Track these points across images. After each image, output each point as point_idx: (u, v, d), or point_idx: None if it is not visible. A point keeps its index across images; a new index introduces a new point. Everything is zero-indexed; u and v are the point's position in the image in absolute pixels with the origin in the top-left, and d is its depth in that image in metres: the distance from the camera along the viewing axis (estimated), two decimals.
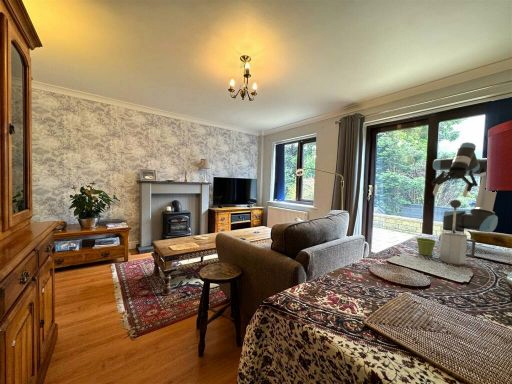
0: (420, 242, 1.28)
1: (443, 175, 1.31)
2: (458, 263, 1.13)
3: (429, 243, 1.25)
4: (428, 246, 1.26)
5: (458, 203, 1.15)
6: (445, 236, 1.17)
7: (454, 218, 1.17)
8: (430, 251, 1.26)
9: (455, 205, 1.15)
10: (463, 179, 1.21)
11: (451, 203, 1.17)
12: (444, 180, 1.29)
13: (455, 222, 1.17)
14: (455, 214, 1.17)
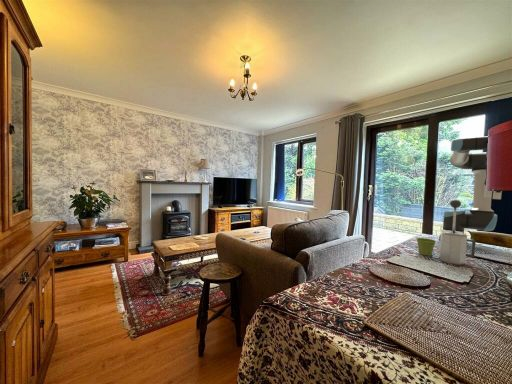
0: (420, 242, 1.28)
1: None
2: (458, 263, 1.13)
3: (429, 243, 1.25)
4: (428, 246, 1.26)
5: (458, 203, 1.15)
6: (445, 236, 1.17)
7: (454, 218, 1.17)
8: (430, 251, 1.26)
9: (455, 205, 1.15)
10: None
11: (451, 203, 1.17)
12: None
13: (455, 222, 1.17)
14: (455, 214, 1.17)
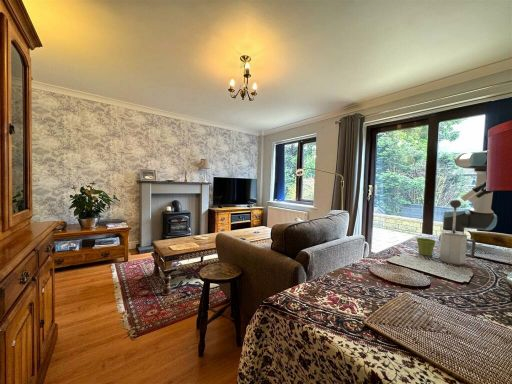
0: (420, 242, 1.28)
1: None
2: (458, 263, 1.13)
3: (429, 243, 1.25)
4: (428, 246, 1.26)
5: (458, 203, 1.15)
6: (445, 236, 1.17)
7: (454, 218, 1.17)
8: (430, 251, 1.26)
9: (455, 205, 1.15)
10: None
11: (451, 203, 1.17)
12: (482, 187, 1.14)
13: (455, 222, 1.17)
14: (455, 214, 1.17)
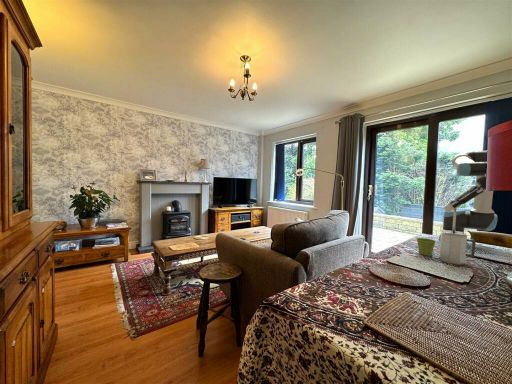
0: (420, 242, 1.28)
1: None
2: (458, 263, 1.13)
3: (429, 243, 1.25)
4: (428, 246, 1.26)
5: None
6: (445, 236, 1.17)
7: (454, 218, 1.17)
8: (430, 251, 1.26)
9: None
10: (467, 195, 1.13)
11: (451, 203, 1.17)
12: None
13: (455, 222, 1.17)
14: (455, 214, 1.17)
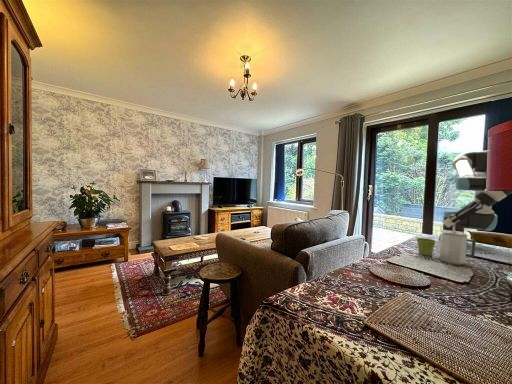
0: (420, 242, 1.28)
1: None
2: (458, 263, 1.13)
3: (429, 243, 1.25)
4: (428, 246, 1.26)
5: None
6: (445, 236, 1.17)
7: None
8: (430, 251, 1.26)
9: None
10: None
11: (450, 218, 1.17)
12: None
13: None
14: (454, 229, 1.17)
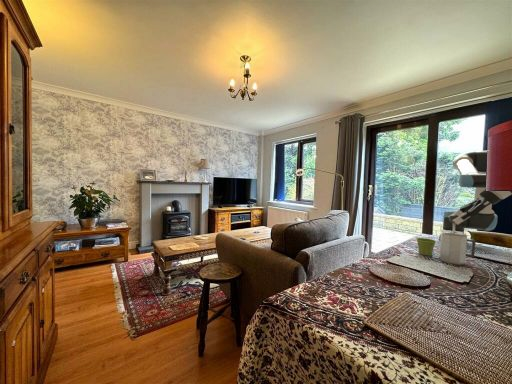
0: (420, 242, 1.28)
1: None
2: (458, 263, 1.13)
3: (429, 243, 1.25)
4: (428, 246, 1.26)
5: None
6: (445, 236, 1.17)
7: None
8: (430, 251, 1.26)
9: None
10: None
11: (450, 218, 1.17)
12: (469, 207, 1.17)
13: None
14: (454, 229, 1.17)
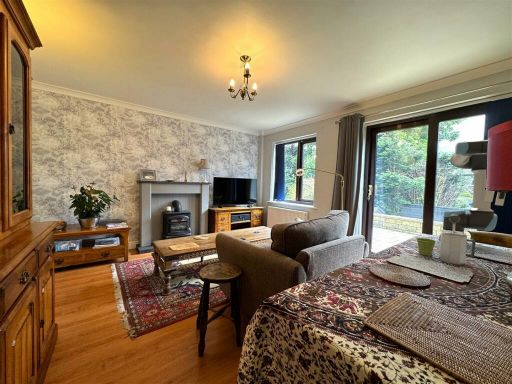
0: (420, 242, 1.28)
1: None
2: (458, 263, 1.13)
3: (429, 243, 1.25)
4: (428, 246, 1.26)
5: (457, 218, 1.15)
6: (445, 236, 1.17)
7: None
8: (430, 251, 1.26)
9: (454, 220, 1.16)
10: None
11: (450, 218, 1.17)
12: None
13: None
14: (454, 229, 1.17)
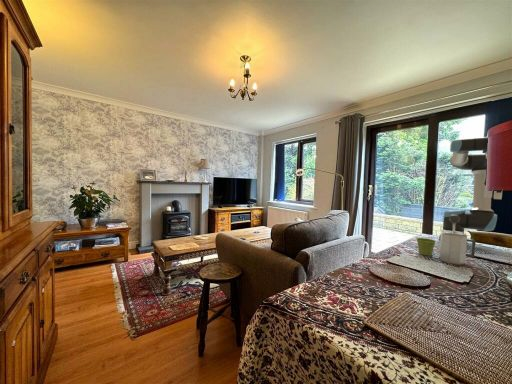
0: (420, 242, 1.28)
1: None
2: (458, 263, 1.13)
3: (429, 243, 1.25)
4: (428, 246, 1.26)
5: (457, 218, 1.15)
6: (445, 236, 1.17)
7: None
8: (430, 251, 1.26)
9: (454, 220, 1.16)
10: None
11: (450, 218, 1.17)
12: None
13: None
14: (454, 229, 1.17)
